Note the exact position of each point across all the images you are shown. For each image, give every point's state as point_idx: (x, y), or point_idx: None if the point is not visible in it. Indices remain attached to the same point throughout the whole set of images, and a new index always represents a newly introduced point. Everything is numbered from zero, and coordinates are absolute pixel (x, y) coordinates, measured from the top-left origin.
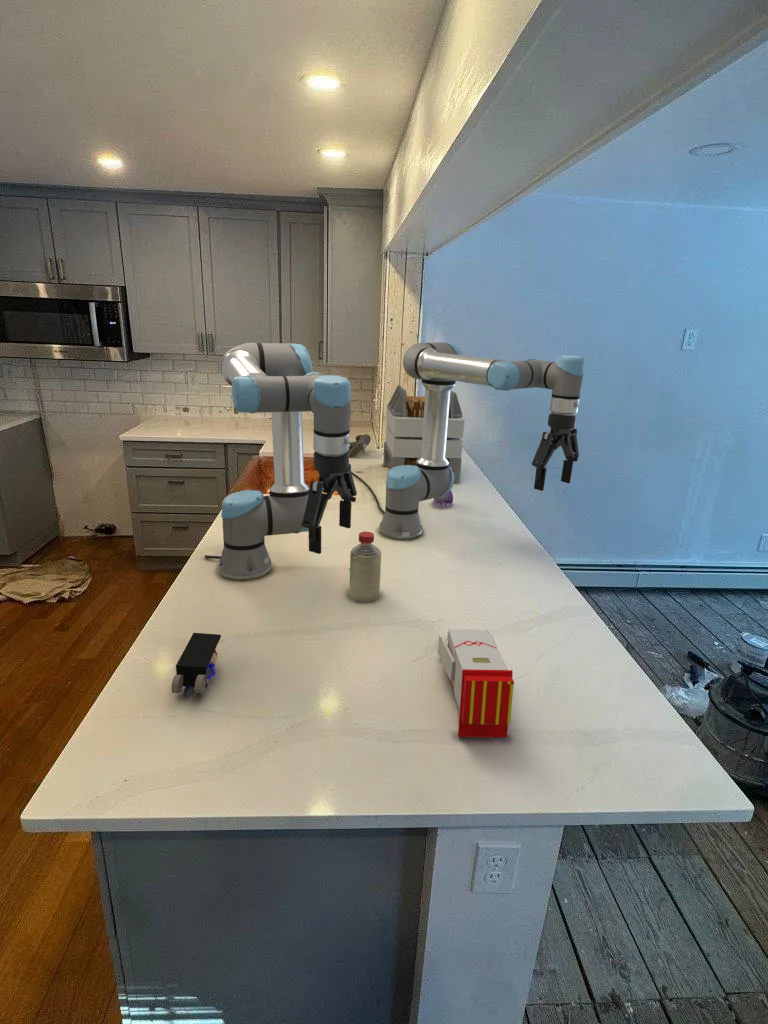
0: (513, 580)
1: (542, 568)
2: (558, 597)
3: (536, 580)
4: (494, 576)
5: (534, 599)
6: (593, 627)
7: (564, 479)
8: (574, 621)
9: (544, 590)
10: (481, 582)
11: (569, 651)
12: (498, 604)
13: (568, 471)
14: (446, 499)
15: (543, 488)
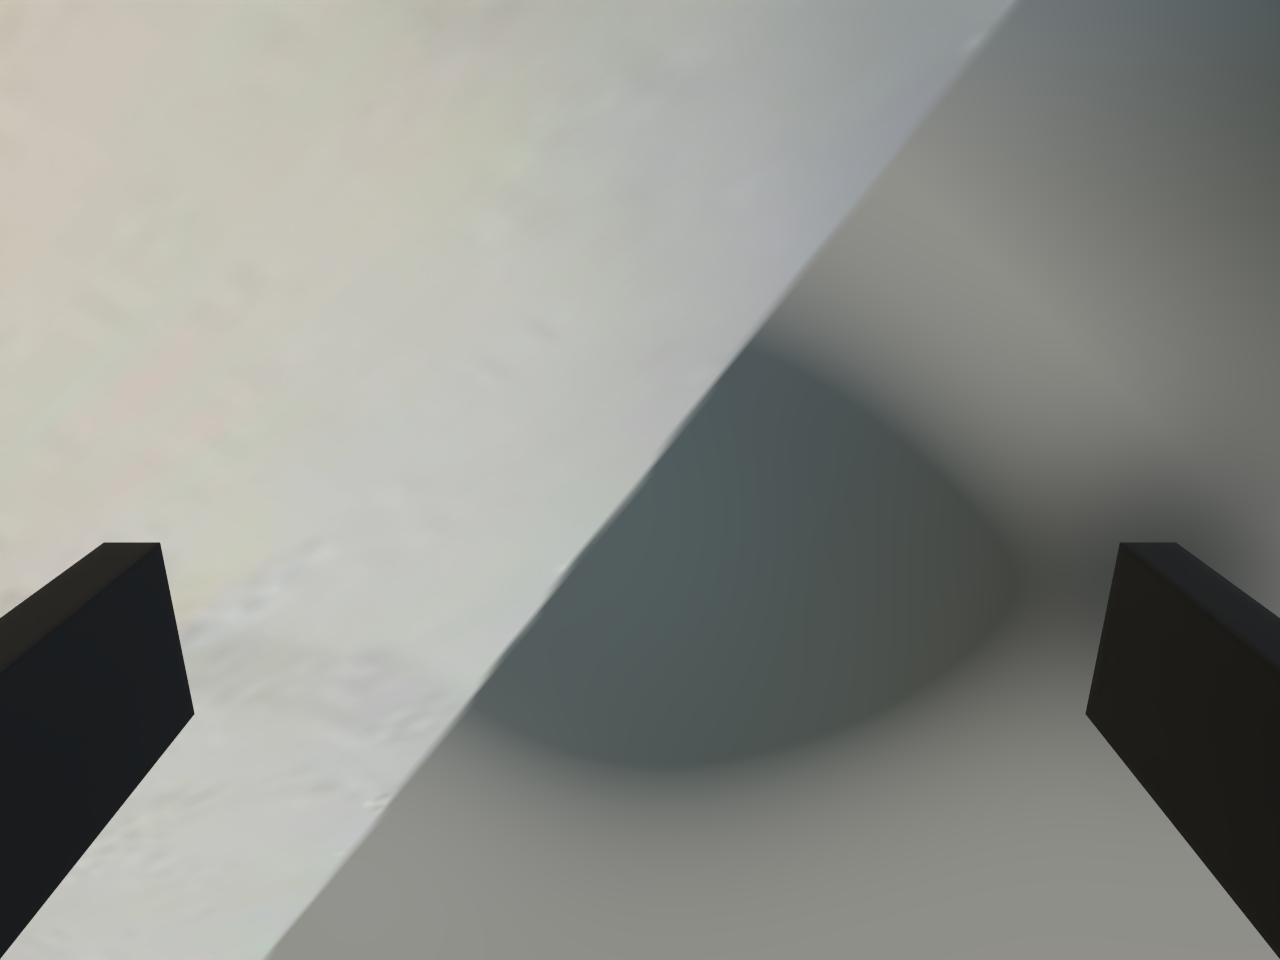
0: (380, 273)
1: (719, 279)
2: (447, 575)
3: (519, 368)
4: (305, 146)
5: (300, 510)
6: (341, 823)
7: (1137, 649)
8: (305, 750)
9: (447, 480)
10: (150, 153)
11: None
12: (55, 423)
13: (1250, 861)
14: None
15: (167, 740)
